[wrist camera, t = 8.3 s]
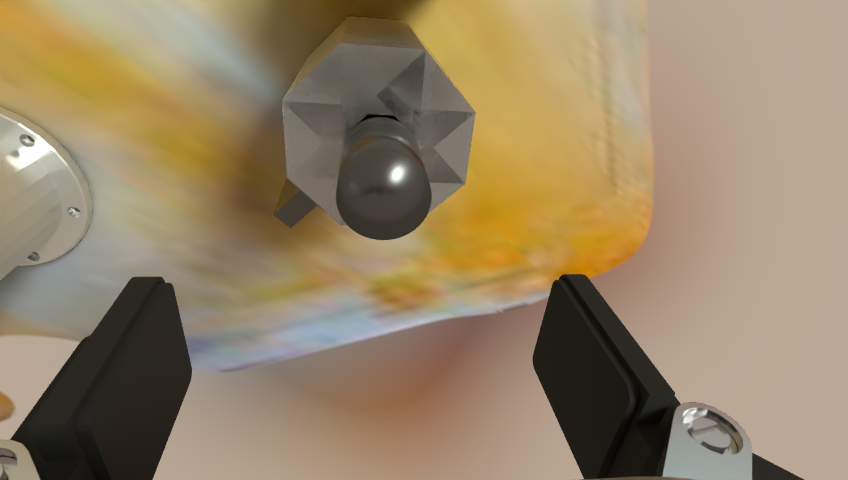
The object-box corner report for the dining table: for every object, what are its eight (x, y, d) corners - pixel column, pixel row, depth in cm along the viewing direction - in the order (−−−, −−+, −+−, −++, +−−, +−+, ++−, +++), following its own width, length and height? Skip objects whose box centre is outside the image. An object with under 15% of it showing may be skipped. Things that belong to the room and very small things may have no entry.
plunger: (374, 127, 33) (381, 255, 19) (337, 89, 32) (315, 196, 17) (411, 93, 32) (450, 200, 18) (376, 52, 31) (387, 132, 16)
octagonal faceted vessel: (346, 194, 37) (339, 284, 26) (255, 109, 33) (205, 176, 22) (462, 93, 34) (506, 151, 23) (378, -14, 29) (385, -2, 19)
